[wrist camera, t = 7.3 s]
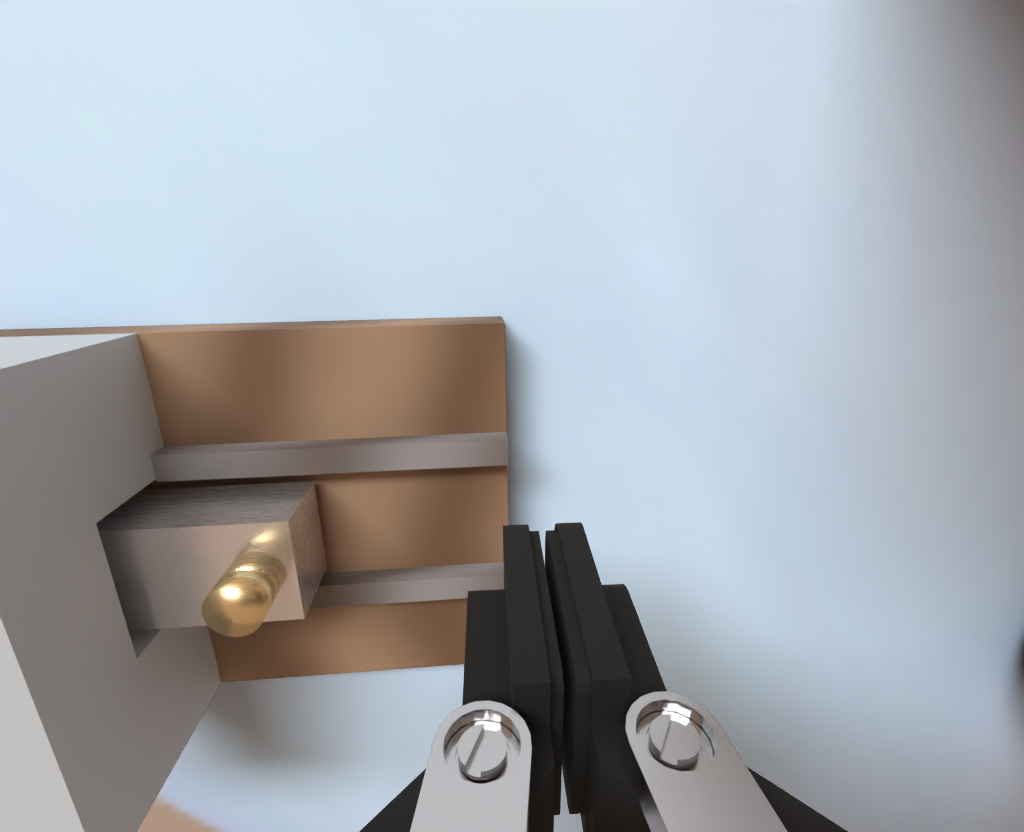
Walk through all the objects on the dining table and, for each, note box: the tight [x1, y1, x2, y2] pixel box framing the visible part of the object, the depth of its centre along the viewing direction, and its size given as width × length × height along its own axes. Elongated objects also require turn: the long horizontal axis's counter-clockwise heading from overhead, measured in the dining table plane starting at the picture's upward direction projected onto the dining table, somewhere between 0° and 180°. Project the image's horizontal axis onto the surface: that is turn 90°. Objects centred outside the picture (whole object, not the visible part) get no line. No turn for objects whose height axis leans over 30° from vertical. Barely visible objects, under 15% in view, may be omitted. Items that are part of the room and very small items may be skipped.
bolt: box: [96, 481, 327, 637], centre depth 14 cm, size 8×3×4 cm, turn 91°
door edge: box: [0, 333, 221, 832], centre depth 13 cm, size 4×12×6 cm, turn 1°
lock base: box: [0, 317, 509, 682], centre depth 16 cm, size 15×12×2 cm
